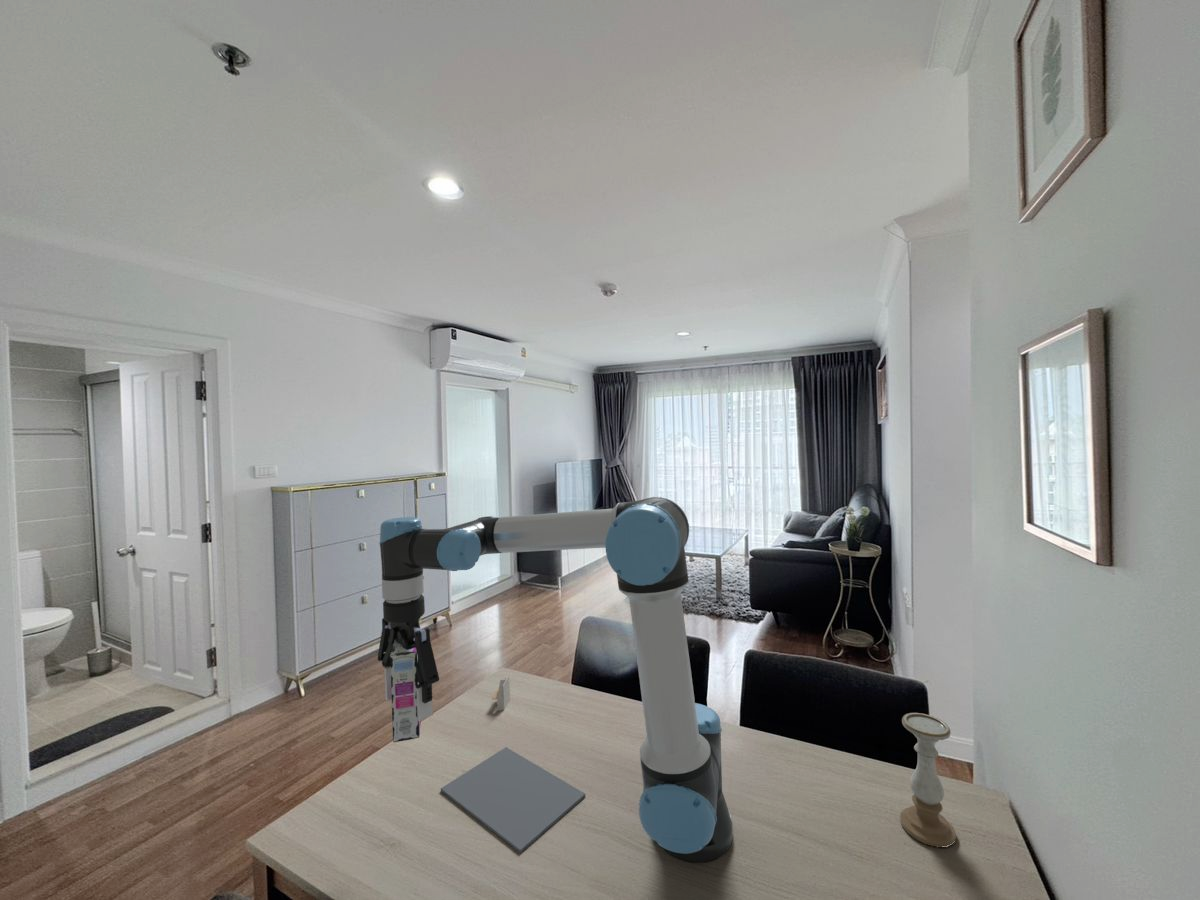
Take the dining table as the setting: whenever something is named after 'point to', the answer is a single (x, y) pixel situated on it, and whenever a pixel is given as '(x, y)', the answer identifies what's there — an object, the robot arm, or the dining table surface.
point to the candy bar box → (404, 693)
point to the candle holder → (927, 784)
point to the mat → (513, 797)
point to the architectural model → (502, 694)
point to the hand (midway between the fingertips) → (408, 707)
